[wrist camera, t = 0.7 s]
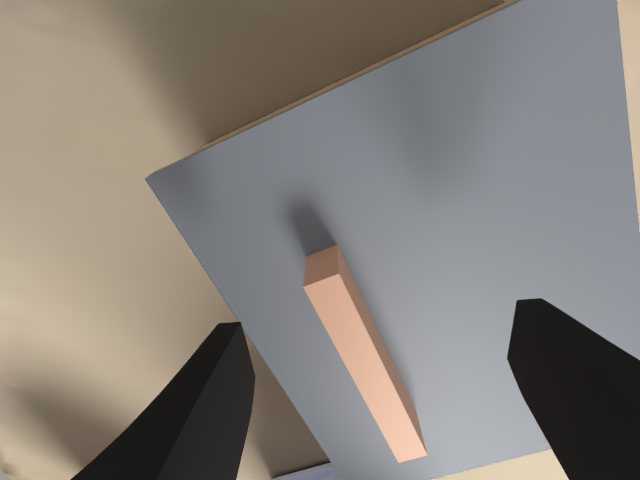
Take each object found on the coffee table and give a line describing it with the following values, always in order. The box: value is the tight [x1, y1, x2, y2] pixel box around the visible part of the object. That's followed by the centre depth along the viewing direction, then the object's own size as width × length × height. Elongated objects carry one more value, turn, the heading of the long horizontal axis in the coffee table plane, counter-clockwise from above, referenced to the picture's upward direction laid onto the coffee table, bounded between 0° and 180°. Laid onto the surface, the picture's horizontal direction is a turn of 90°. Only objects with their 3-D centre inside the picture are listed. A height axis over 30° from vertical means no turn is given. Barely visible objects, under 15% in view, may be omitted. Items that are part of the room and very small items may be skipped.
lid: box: [145, 0, 640, 480], centre depth 14 cm, size 14×18×3 cm
